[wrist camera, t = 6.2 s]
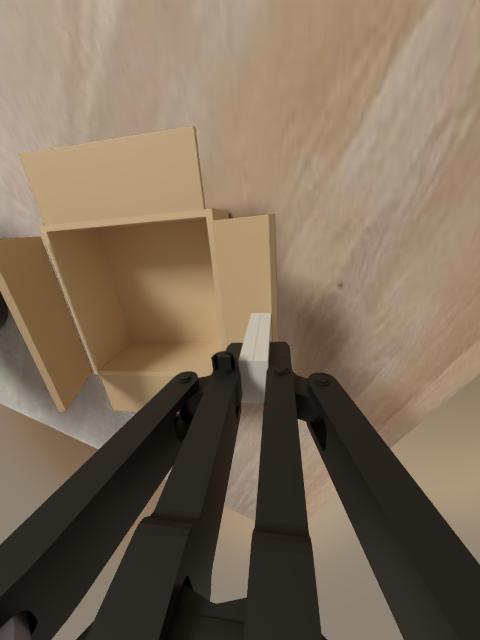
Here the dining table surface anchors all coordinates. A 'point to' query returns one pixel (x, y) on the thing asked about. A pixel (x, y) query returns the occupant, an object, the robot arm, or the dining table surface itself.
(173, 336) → the carton
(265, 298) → the flap
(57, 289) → the flap
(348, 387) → the dining table surface
